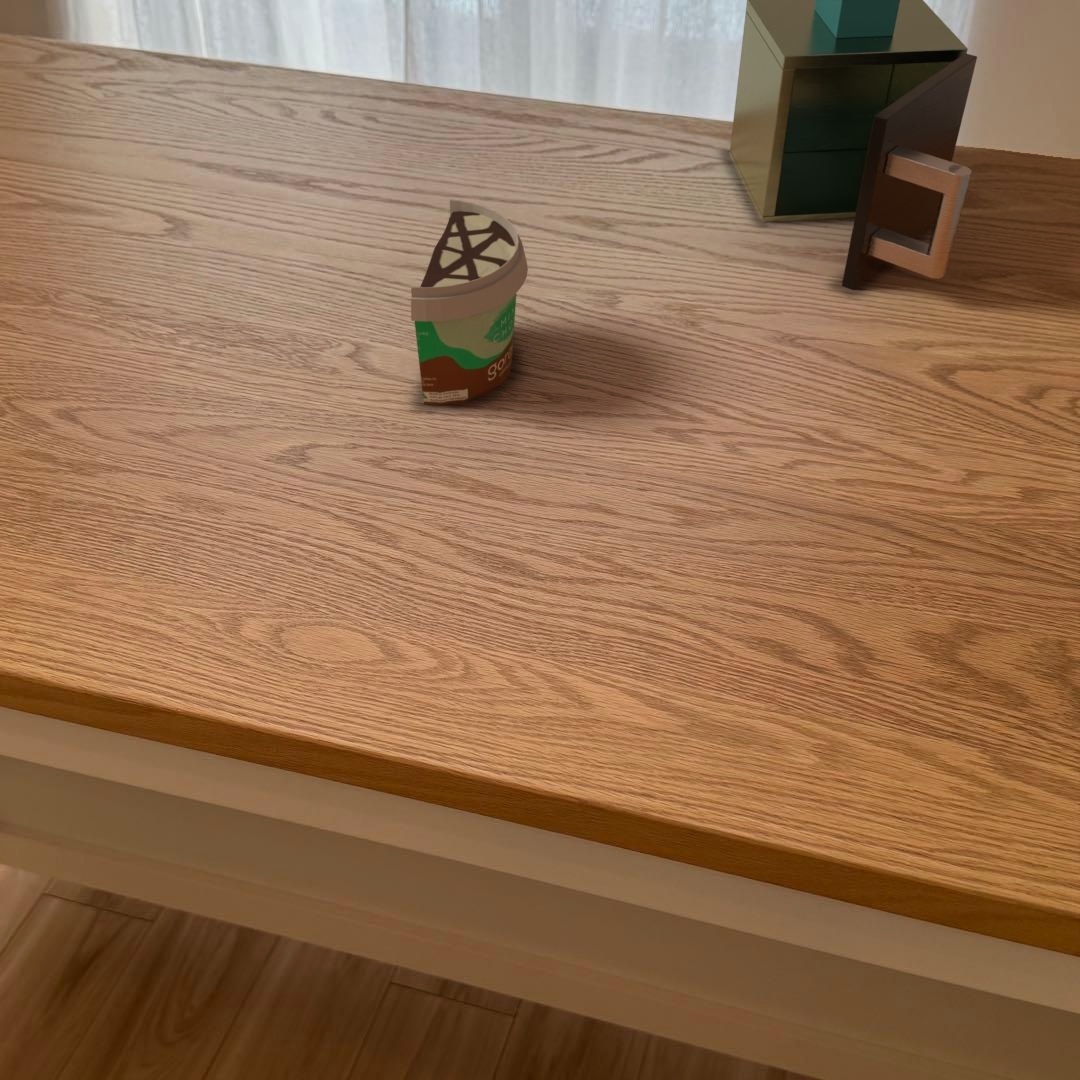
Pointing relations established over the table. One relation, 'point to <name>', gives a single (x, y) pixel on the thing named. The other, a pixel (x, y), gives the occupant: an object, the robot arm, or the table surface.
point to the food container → (468, 306)
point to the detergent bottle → (858, 17)
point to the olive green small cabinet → (821, 102)
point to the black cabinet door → (913, 180)
